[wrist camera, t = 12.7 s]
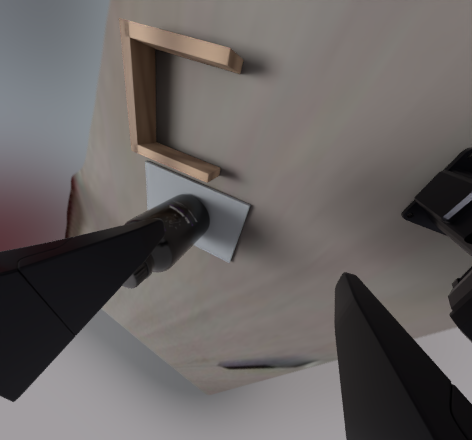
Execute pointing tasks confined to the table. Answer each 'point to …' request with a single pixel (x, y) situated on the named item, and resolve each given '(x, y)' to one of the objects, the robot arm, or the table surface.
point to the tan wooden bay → (144, 88)
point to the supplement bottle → (172, 234)
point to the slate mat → (217, 204)
